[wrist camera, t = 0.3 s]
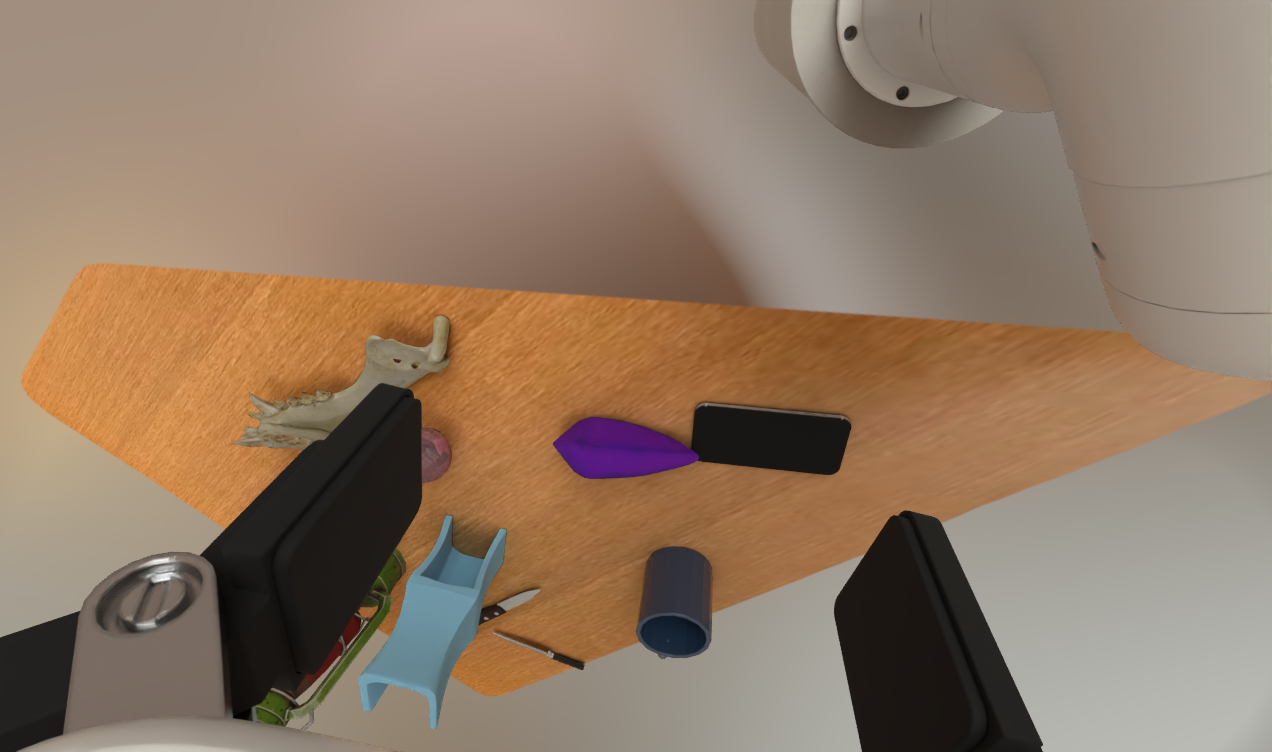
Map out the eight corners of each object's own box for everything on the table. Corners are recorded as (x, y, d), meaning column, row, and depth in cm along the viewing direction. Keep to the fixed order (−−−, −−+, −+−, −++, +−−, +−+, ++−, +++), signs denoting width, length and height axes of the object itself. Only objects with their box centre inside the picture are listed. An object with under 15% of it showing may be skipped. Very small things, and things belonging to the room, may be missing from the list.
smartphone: (695, 404, 54) (853, 419, 52) (695, 400, 55) (852, 415, 53) (690, 461, 58) (837, 476, 56) (690, 456, 59) (836, 472, 57)
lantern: (331, 575, 79) (149, 829, 54) (310, 523, 74) (96, 781, 49) (423, 588, 78) (281, 855, 53) (409, 537, 72) (242, 809, 47)
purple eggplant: (697, 490, 55) (548, 478, 56) (695, 458, 60) (557, 447, 60) (703, 454, 53) (547, 441, 53) (701, 423, 57) (556, 411, 57)
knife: (493, 629, 80) (492, 630, 81) (491, 634, 79) (490, 635, 81) (586, 664, 82) (583, 665, 83) (585, 670, 81) (581, 670, 83)
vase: (445, 554, 73) (362, 711, 57) (445, 514, 69) (355, 671, 52) (502, 568, 73) (436, 729, 57) (506, 529, 69) (436, 691, 52)
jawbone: (250, 519, 59) (154, 495, 50) (305, 367, 66) (230, 325, 58) (455, 520, 52) (385, 494, 43) (489, 352, 60) (436, 301, 51)
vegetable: (474, 437, 61) (434, 503, 53) (442, 462, 64) (399, 528, 56) (431, 401, 59) (383, 463, 51) (400, 428, 62) (349, 491, 54)
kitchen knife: (452, 621, 82) (462, 629, 82) (449, 627, 81) (459, 635, 81) (536, 582, 74) (546, 591, 74) (534, 588, 73) (544, 597, 74)
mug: (652, 540, 66) (643, 606, 59) (719, 555, 66) (718, 623, 59) (636, 596, 73) (626, 662, 65) (697, 610, 72) (694, 678, 65)
